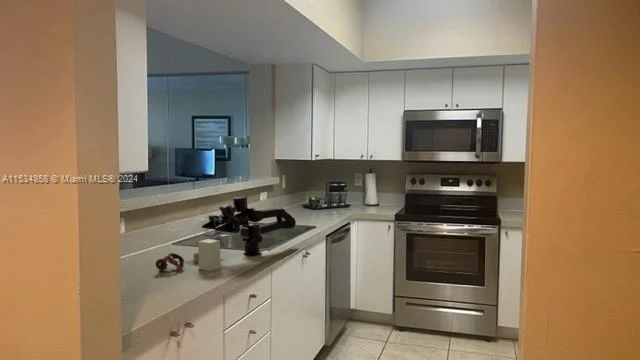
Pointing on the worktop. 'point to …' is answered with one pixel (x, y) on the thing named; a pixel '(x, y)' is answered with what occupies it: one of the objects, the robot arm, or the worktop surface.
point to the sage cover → (209, 254)
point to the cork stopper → (196, 257)
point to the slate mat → (196, 263)
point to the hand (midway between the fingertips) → (208, 227)
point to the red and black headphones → (162, 262)
